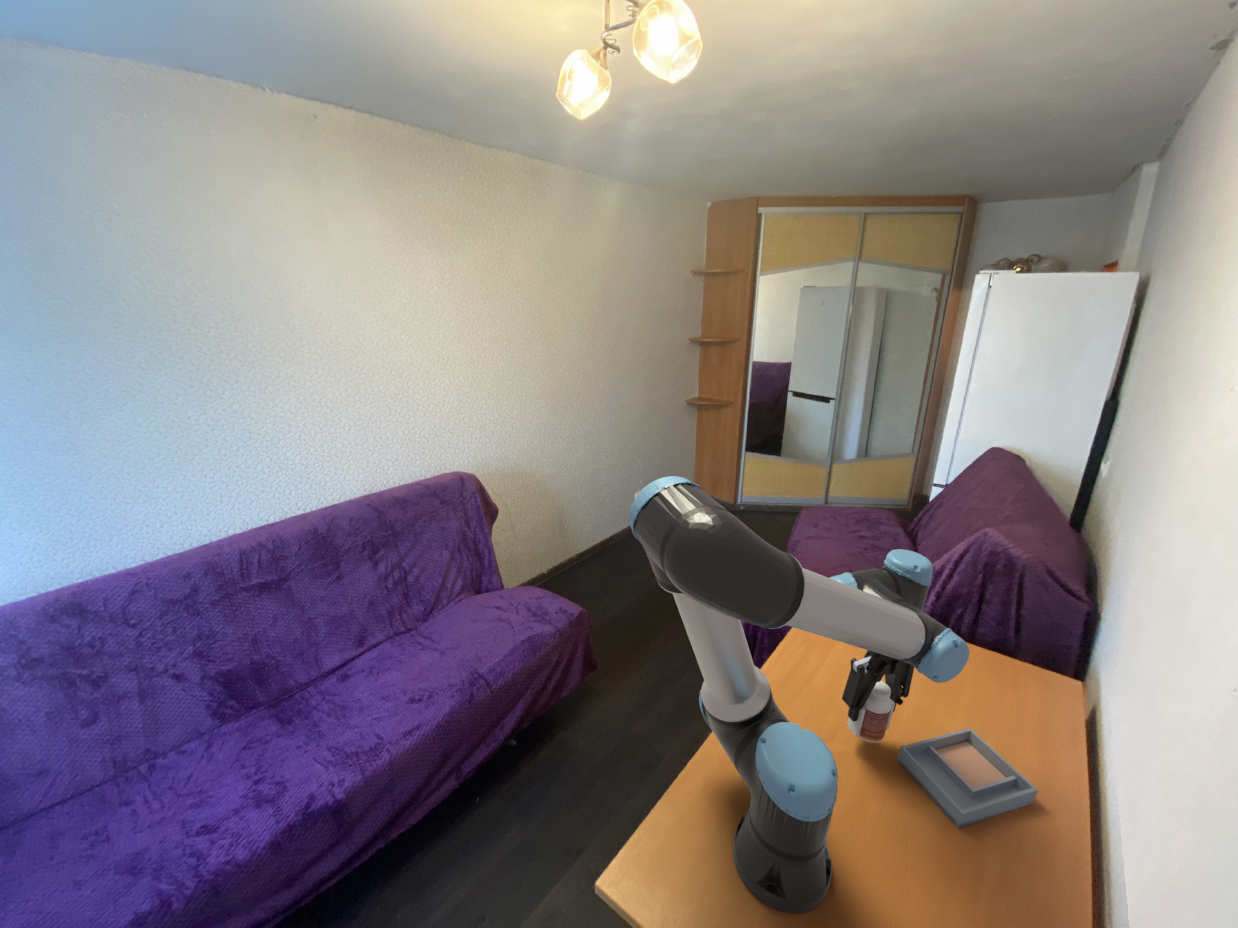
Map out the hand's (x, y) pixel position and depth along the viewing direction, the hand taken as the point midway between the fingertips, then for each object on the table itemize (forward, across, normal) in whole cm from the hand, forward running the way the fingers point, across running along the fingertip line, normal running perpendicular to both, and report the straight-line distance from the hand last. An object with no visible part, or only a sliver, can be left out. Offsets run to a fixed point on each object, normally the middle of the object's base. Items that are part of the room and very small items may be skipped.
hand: (867, 727), depth 104 cm
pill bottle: (+1, 0, 0) cm, 1 cm away
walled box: (+5, +13, -11) cm, 18 cm away
